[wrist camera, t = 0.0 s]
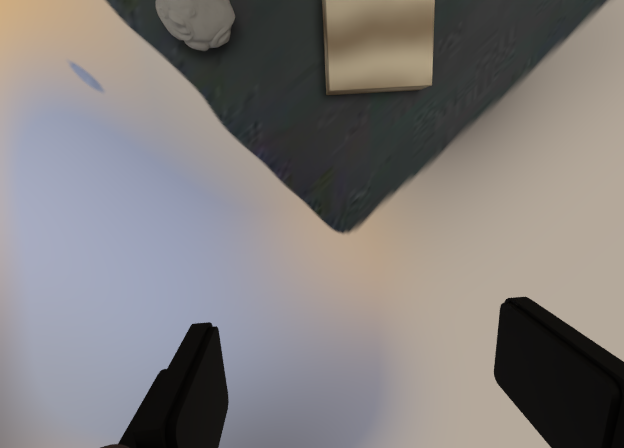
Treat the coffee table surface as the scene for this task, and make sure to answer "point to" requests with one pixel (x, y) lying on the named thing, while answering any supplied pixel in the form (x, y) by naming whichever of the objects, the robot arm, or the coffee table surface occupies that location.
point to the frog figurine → (197, 21)
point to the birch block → (378, 45)
